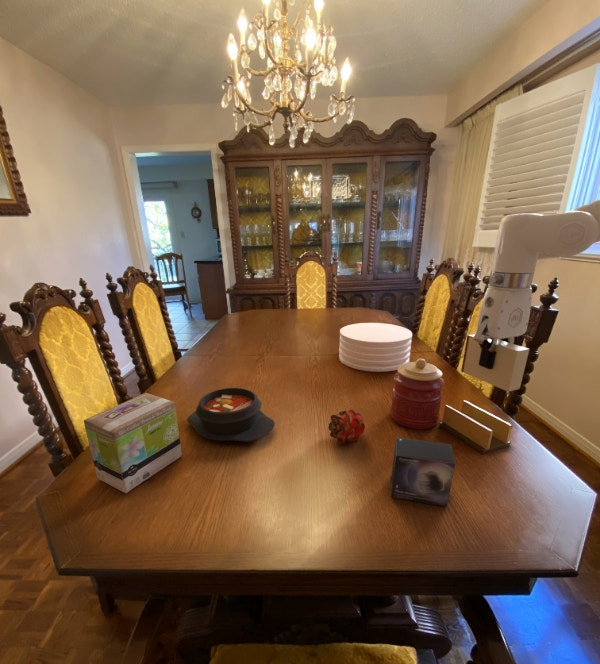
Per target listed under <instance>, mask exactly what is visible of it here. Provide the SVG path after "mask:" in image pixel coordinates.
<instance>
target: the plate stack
mask: <svg viewBox="0 0 600 664" xmlns="http://www.w3.org/2000/svg"><path fill="white" fill-rule="evenodd" d="M412 338H413V332H412V331H411V330H410V329H408V328H406V327H403V326H400V325H396V324H391V323H383V322H360V323H359V322H358V323H352V324H348V325H345V326H343V327H341V328H340V329H339V345H338V346H339V350H338V353H339V354H338V360H339V361H340V362H341V363H342V364H343V365H345V366H347V367H349V368H352V369H355V370H360V371H365V372H378V373H381V372H393V371H398V367H400V366H401V365H404V364H405V363H408V362H410V357H411V350H412V349H411V347H412V340H413V339H412Z"/></svg>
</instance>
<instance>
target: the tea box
mask: <svg viewBox="0 0 600 664" xmlns="http://www.w3.org/2000/svg"><path fill="white" fill-rule="evenodd" d="M83 423H84V429H85V433H86V437H87V442H88V445H89V450H90V454H91V458H92V462H93V465H94V470H95V474H96V477H97V479H98V480H100V481H101V482H103V483H105V484H107V485H109V486H110V487H113V488H115V489H116V490H119V491H120V492H122V493H125V494H128V493H129V492H130V491H132V490H133V489H134V488H136V487H138V486H139V485H140V484H142V483H143V482H145V481H146V480H148V479H150V478H151V477H152V476H154V475H156V474H157V473H159V472H161V470H163V469H165V468H166V467H167V466H169V465H170V464H172V463H174V462H176V461H177V460H178V459H180V458H181V457H182V456H183V454H182V453H183V452H182V445H181V438H180V431H179V425H178V417H177V410H176V404H175V401H174V400H173V401H172V400H170V399H167V398H163V397H160V396H157V395H154V394H150V393H148V392H144V393H142V394H140V395H138V396H136V397H133V398H130V399H129V400H126V401H125V402H122V403H120V404H118V405H115V406H112V407H111V408H108V409H105V410H103V411H101V412H99V413H97V414H94V415H92V416H90V417H88V418H85V419H83Z"/></svg>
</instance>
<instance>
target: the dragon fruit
mask: <svg viewBox="0 0 600 664" xmlns="http://www.w3.org/2000/svg"><path fill="white" fill-rule="evenodd" d="M327 427H328V431H330V432H329V436H330V438H333V439H337V440H336V442H337V443H339V444H345V443H347V442H351V443H357V442H358V441H359V437H360V436H361V435H362V434H363V433H364V432H365V430H366V425H365V422H364V417H363V415H362V414H361V412H357V411H356V410H355V409H349V410H347V409H345V410H341V411H339V413H337V414H332V415H331V416H330V422H329V423H328V426H327Z"/></svg>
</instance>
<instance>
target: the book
mask: <svg viewBox="0 0 600 664" xmlns="http://www.w3.org/2000/svg"><path fill="white" fill-rule="evenodd" d="M475 334H476V333H473V334H468V335H466V340H465V346H464V353H463V358H462V363H461V364H462V365H461V369H460V372H461V373H464V374H466V375H469V376H470V377H473V378H476V379H477V380H480V381H482V382H484V383H486V384H489V385H492V386H493V387H496V388H498V389H501V390H503V391H505V392H508V393H509V392H513V391H517V390H520V389H521V385H522V381H523V377H524V373H525V369H526V365H527V361H528V356H529V353H530V348H528V347H525V346H523V345H522V346H521V345H518V344H515V343H514V344H512V343H508V342H505V341H502V340H499V339H498V340H497V344H496V347H495V350H494V351H495V352H496V356H495V360H494V365H493V369H487V368H485V367H482V366H480V365H479V360H480V354H481V348H480V345H479V343H478V342H476V341H475V340H474V339H473V337H474V335H475ZM488 341H489V342H490V343H491V339H488Z"/></svg>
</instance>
